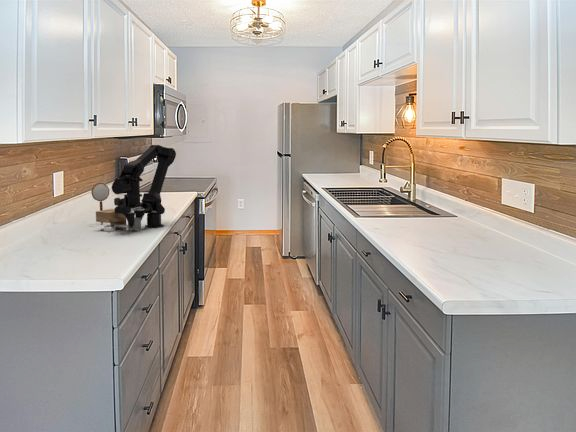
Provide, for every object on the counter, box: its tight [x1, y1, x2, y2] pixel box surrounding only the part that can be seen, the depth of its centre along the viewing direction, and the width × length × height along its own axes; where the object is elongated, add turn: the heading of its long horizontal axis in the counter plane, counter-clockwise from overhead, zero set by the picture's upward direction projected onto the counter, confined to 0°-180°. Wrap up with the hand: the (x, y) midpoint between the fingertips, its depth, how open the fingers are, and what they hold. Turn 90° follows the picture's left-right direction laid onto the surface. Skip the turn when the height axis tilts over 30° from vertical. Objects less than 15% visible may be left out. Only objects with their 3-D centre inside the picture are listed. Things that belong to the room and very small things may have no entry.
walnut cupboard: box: [95, 208, 127, 230], centre depth 246 cm, size 11×8×9 cm
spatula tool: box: [114, 217, 142, 231], centre depth 245 cm, size 4×13×5 cm, turn 65°
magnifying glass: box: [91, 182, 110, 225], centre depth 257 cm, size 9×2×20 cm, turn 132°
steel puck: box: [103, 224, 117, 233], centre depth 243 cm, size 5×5×2 cm
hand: (134, 226), depth 243 cm, fingers closed on spatula tool, 4 cm apart
